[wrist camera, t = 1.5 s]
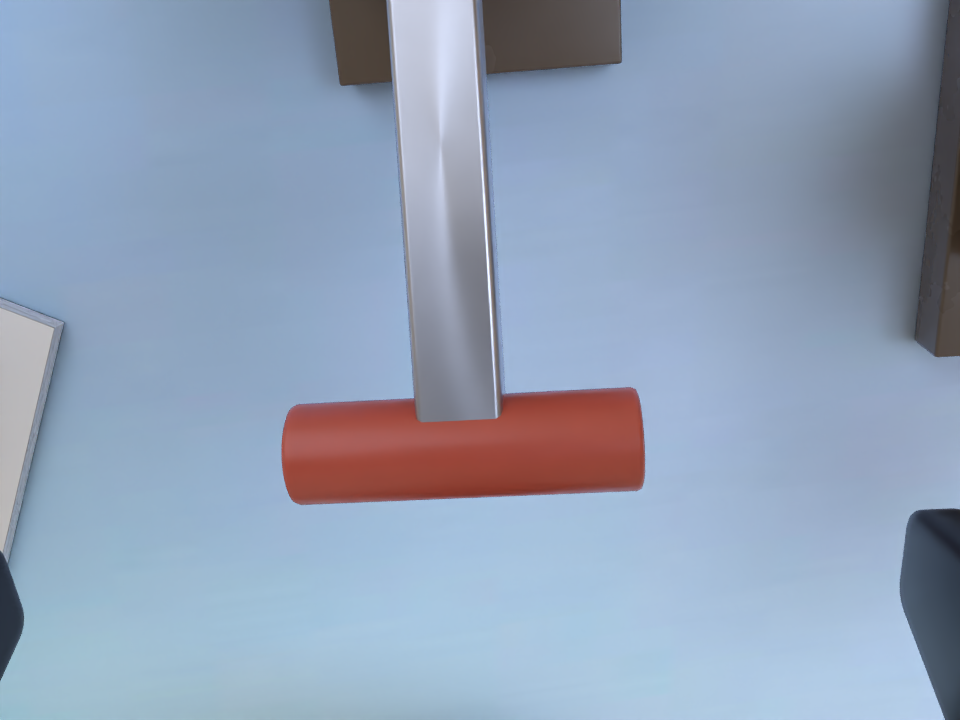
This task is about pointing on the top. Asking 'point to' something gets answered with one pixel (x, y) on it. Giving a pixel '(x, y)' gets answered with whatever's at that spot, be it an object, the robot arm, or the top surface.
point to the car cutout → (21, 402)
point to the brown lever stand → (488, 36)
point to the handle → (455, 320)
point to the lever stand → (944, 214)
